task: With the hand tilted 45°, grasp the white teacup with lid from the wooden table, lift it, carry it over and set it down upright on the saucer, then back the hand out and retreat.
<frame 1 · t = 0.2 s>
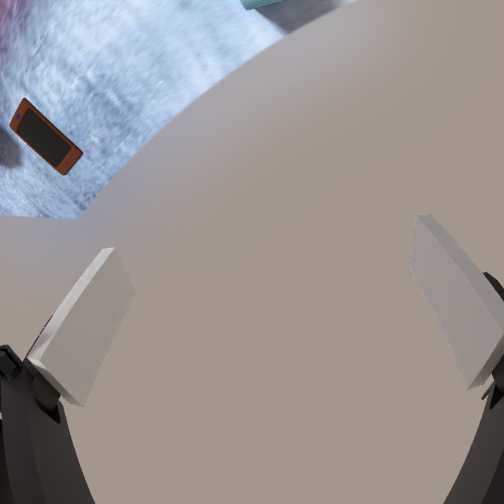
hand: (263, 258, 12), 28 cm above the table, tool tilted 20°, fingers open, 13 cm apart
smartphone: (45, 135, 35), on the table
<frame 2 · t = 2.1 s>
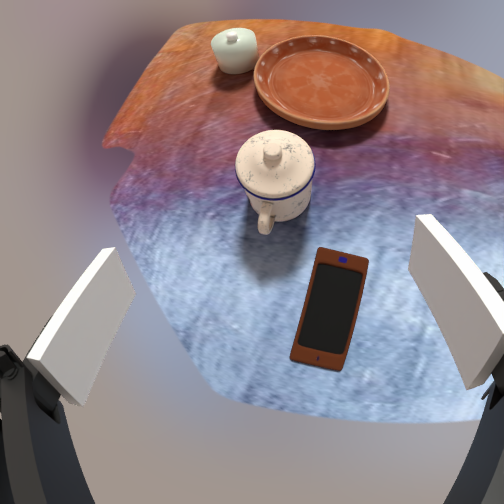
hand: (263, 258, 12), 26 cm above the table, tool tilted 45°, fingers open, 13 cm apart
sugar bowl: (238, 61, 47), on the table
saucer: (321, 86, 44), on the table
smartphone: (330, 309, 36), on the table
teacup with lid: (277, 203, 40), on the table
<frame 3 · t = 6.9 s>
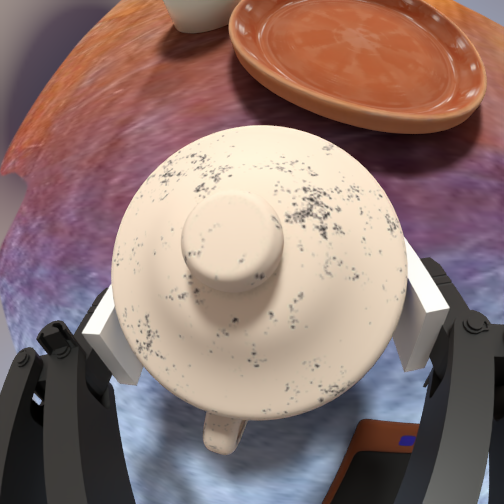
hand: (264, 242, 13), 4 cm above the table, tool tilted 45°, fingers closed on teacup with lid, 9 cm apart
sugar bowl: (208, 14, 24), on the table
saucer: (360, 49, 20), on the table
teacup with lid: (267, 314, 16), on the table, touching gripper
when the fingers open (10 cm above the table, at t = 12.8 s): teacup with lid drops 2 cm, resting on saucer.
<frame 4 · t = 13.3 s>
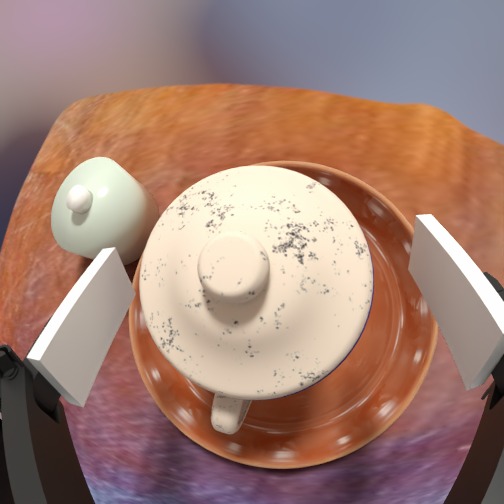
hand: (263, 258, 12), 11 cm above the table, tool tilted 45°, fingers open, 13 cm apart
sugar bowl: (122, 224, 26), on the table
saucer: (283, 318, 22), on the table, touching teacup with lid
teacup with lid: (268, 317, 19), point 3 cm above the table, touching saucer
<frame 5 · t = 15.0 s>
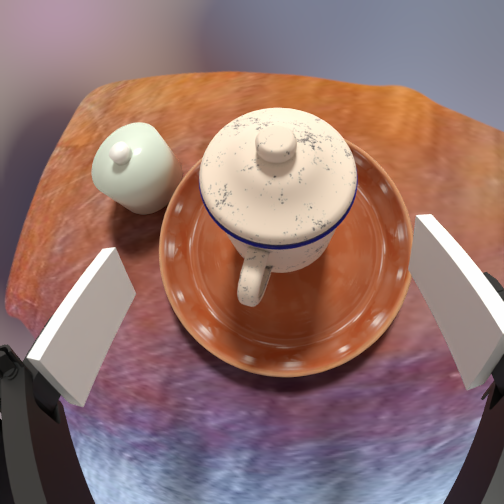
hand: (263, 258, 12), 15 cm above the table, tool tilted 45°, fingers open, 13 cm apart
sugar bowl: (149, 181, 31), on the table
saucer: (287, 248, 28), on the table
teacup with lid: (276, 239, 24), point 3 cm above the table
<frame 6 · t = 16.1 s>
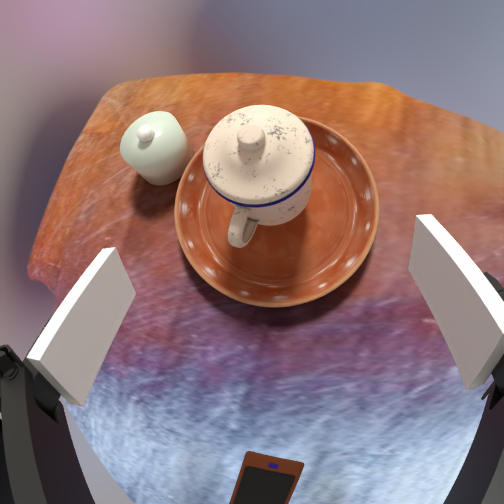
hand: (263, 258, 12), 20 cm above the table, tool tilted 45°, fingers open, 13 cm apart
sugar bowl: (166, 159, 38), on the table
saucer: (277, 209, 34), on the table, touching teacup with lid
smartphone: (260, 497, 27), on the table
teacup with lid: (266, 199, 31), point 3 cm above the table, touching saucer
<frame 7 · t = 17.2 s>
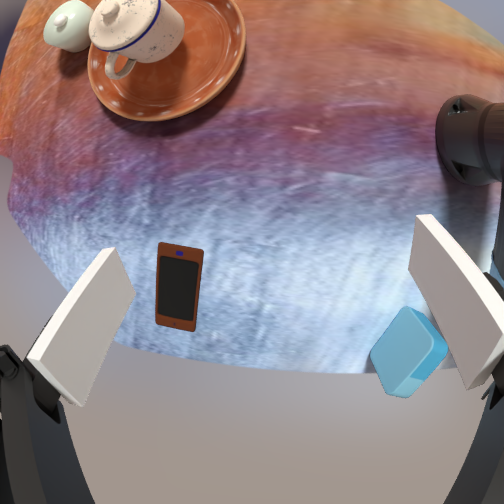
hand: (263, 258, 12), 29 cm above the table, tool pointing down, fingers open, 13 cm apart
sugar bowl: (82, 31, 30), on the table
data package: (394, 331, 48), on the table
saucer: (167, 49, 33), on the table, touching teacup with lid
smartphone: (178, 287, 46), on the table
teacup with lid: (151, 44, 29), point 3 cm above the table, touching saucer
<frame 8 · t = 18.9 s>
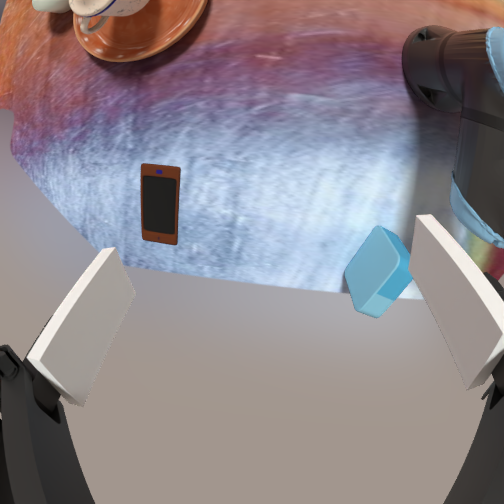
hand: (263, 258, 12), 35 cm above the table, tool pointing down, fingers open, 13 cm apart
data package: (368, 251, 52), on the table
saucer: (142, 0, 30), on the table, touching teacup with lid
smartphone: (160, 204, 50), on the table
teacup with lid: (126, 0, 27), point 3 cm above the table, touching saucer
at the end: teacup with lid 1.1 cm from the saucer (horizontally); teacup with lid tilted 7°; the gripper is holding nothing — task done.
